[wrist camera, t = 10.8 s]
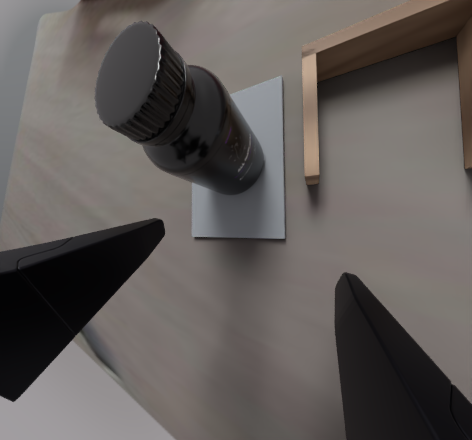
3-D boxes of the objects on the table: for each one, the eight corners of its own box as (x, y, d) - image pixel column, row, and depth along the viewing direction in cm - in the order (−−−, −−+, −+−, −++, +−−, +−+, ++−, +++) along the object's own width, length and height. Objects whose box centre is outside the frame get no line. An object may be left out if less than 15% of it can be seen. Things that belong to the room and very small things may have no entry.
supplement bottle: (274, 182, 17) (197, 97, 6) (216, 204, 19) (89, 176, 8) (255, 121, 18) (160, -46, 7) (203, 151, 20) (75, 64, 10)
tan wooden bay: (487, 166, 11) (542, 147, 8) (306, 184, 16) (304, 176, 13) (476, 15, 12) (525, -49, 9) (304, 76, 16) (301, 46, 14)
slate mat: (285, 238, 16) (284, 238, 16) (194, 236, 21) (191, 236, 21) (282, 79, 17) (281, 75, 17) (194, 111, 22) (192, 108, 21)
